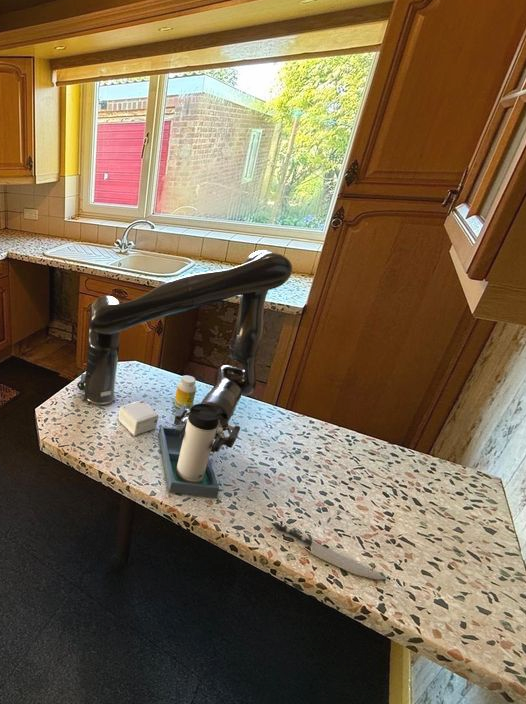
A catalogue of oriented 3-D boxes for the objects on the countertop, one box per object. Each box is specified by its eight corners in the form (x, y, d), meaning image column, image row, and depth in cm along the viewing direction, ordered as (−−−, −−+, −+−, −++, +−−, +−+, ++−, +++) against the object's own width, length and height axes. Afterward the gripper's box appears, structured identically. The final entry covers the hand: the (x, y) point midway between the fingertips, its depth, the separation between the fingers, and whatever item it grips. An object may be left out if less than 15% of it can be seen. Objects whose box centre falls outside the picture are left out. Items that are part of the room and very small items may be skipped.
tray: (169, 492, 93) (171, 482, 92) (158, 434, 111) (159, 425, 110) (216, 497, 92) (219, 488, 91) (197, 438, 110) (199, 429, 109)
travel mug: (206, 487, 94) (225, 420, 85) (177, 483, 95) (193, 416, 86) (202, 468, 99) (219, 403, 90) (174, 464, 100) (188, 399, 91)
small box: (134, 436, 111) (136, 421, 108) (117, 420, 117) (119, 405, 115) (156, 429, 113) (159, 414, 111) (139, 413, 120) (141, 399, 117)
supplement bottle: (179, 397, 127) (184, 372, 123) (195, 404, 124) (201, 378, 119) (170, 404, 124) (176, 378, 119) (187, 412, 120) (193, 385, 116)
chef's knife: (386, 593, 73) (386, 579, 75) (389, 589, 73) (389, 576, 75) (271, 535, 83) (273, 524, 85) (272, 531, 83) (275, 521, 85)
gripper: (192, 385, 104) (167, 416, 92) (251, 406, 96) (232, 443, 84) (186, 408, 107) (162, 440, 96) (244, 430, 99) (224, 469, 88)
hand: (195, 441), depth 90 cm, fingers open, 7 cm apart
